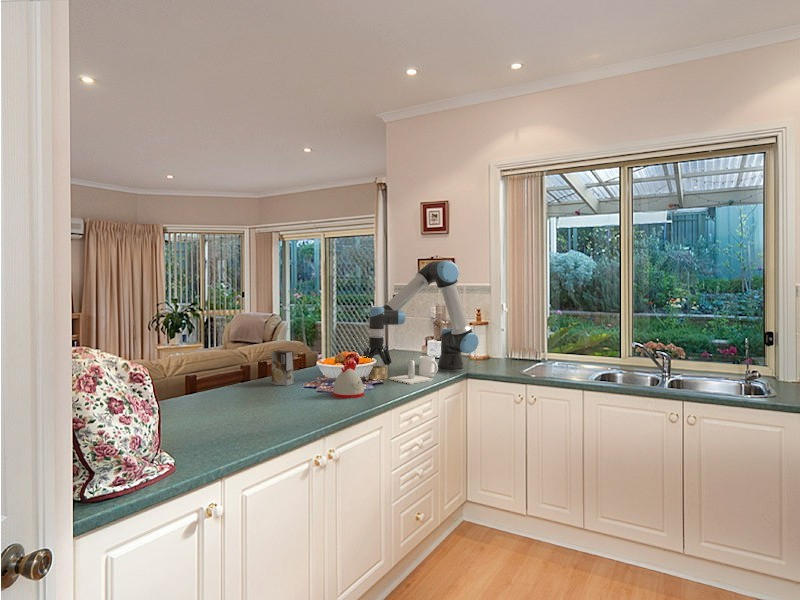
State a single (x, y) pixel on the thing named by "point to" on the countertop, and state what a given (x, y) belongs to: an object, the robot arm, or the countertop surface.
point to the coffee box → (282, 367)
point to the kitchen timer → (348, 383)
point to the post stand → (411, 375)
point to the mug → (427, 366)
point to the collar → (378, 372)
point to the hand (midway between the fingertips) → (375, 378)
